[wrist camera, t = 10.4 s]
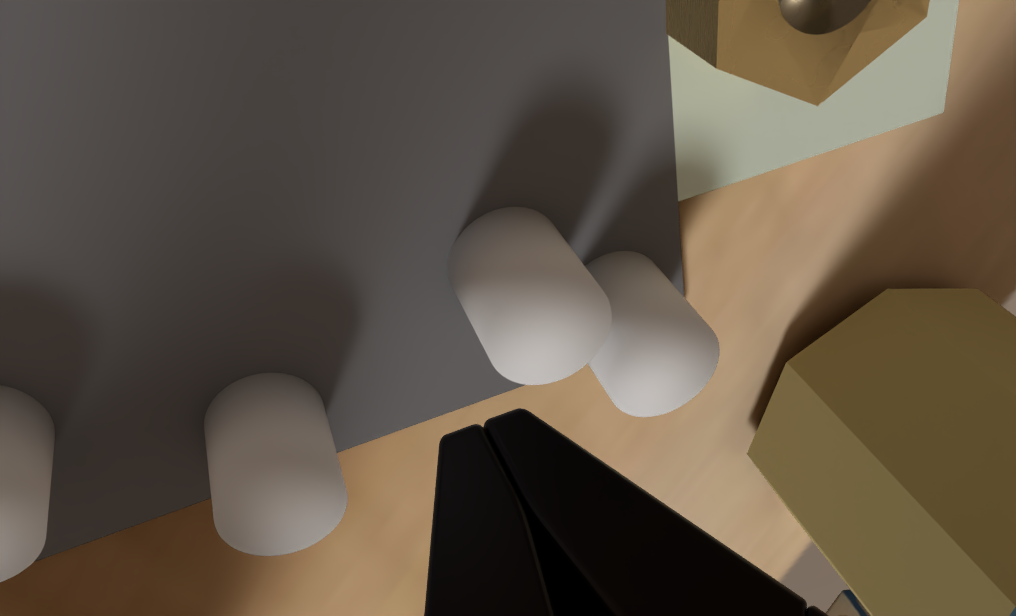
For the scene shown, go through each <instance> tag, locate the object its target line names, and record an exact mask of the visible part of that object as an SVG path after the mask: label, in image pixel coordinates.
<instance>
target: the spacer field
mask: <svg viewBox="0 0 1016 616" xmlns="http://www.w3.org/2000/svg"><path fill="white" fill-rule="evenodd" d="M719 350H720V349H719V342H718V339H717V337H716V335H715V333H714V332H713V330H712V329H711V328H710V327H709V325H708V324H707V323H706V322H705V321H704V320H703V319H702V317H701V316H700V315H699V314H698V313H697V312H696V311H695V309H694V308H693V307H692V306H691V305H690V304H689V303H688V301H687V300H686V299H685V298H684V289H683V273H682V256H681V239H680V223H679V206H678V189H677V173H676V156H675V139H674V123H673V106H672V89H671V73H670V56H669V40H668V35H667V34H666V0H0V582H2V581H5V580H7V579H9V578H11V577H13V576H15V575H17V574H19V573H20V572H22V571H23V570H25V569H26V568H27V567H28V566H30V565H31V564H32V563H33V562H35V561H38V560H40V559H43V558H46V557H49V556H52V555H54V554H57V553H60V552H63V551H65V550H68V549H71V548H74V547H77V546H79V545H82V544H85V543H88V542H90V541H93V540H96V539H99V538H102V537H104V536H107V535H110V534H113V533H115V532H118V531H121V530H124V529H127V528H129V527H132V526H135V525H138V524H140V523H143V522H146V521H149V520H152V519H154V518H157V517H160V516H163V515H165V514H168V513H171V512H174V511H177V510H179V509H182V508H185V507H188V506H190V505H193V504H196V503H199V502H202V501H204V500H207V499H210V498H211V499H212V508H213V518H214V524H215V528H216V530H217V533H218V534H219V536H220V537H221V538H222V539H223V540H224V541H225V542H226V543H227V544H228V545H230V546H231V547H233V548H234V549H236V550H239V551H241V552H244V553H247V554H252V555H258V556H278V555H284V554H289V553H293V552H296V551H300V550H302V549H305V548H307V547H309V546H311V545H313V544H315V543H317V542H318V541H320V540H322V539H323V538H324V537H326V536H327V535H328V534H329V533H330V532H331V531H332V530H333V529H334V528H335V527H336V526H337V525H338V523H339V522H340V521H341V519H342V517H343V515H344V513H345V511H346V507H347V500H348V496H347V490H346V486H345V483H344V479H343V475H342V471H341V468H340V464H339V460H338V456H337V453H338V452H341V451H343V450H346V449H349V448H352V447H354V446H357V445H360V444H363V443H366V442H368V441H371V440H374V439H377V438H379V437H382V436H385V435H388V434H391V433H393V432H396V431H399V430H402V429H404V428H407V427H410V426H413V425H416V424H418V423H421V422H424V421H427V420H429V419H432V418H435V417H438V416H441V415H443V414H446V413H449V412H452V411H454V410H457V409H460V408H463V407H466V406H468V405H471V404H474V403H477V402H479V401H482V400H485V399H488V398H491V397H493V396H496V395H499V394H502V393H504V392H507V391H510V390H513V389H516V388H518V387H521V386H524V385H542V384H548V383H552V382H555V381H559V380H561V379H564V378H566V377H568V376H570V375H572V374H574V373H575V372H577V371H578V370H580V369H581V368H582V367H584V366H585V365H586V364H587V363H588V365H589V366H590V368H591V369H592V371H593V372H594V374H595V375H596V377H597V378H598V380H599V381H600V383H601V385H602V386H603V388H604V389H605V391H606V392H607V394H608V395H609V397H610V398H611V400H612V401H613V403H614V404H615V406H616V407H617V408H618V409H620V410H621V411H623V412H624V413H627V414H629V415H632V416H637V417H652V416H658V415H662V414H665V413H668V412H670V411H673V410H675V409H677V408H679V407H681V406H682V405H684V404H685V403H687V402H688V401H690V400H691V399H692V398H694V397H695V396H696V395H697V394H698V393H699V392H700V391H701V390H702V389H703V388H704V387H705V385H706V384H707V383H708V381H709V380H710V378H711V377H712V375H713V373H714V371H715V369H716V366H717V363H718V359H719Z"/></svg>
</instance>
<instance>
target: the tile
mask: <svg viewBox="0 0 1016 616" xmlns="http://www.w3.org/2000/svg"><path fill="white" fill-rule="evenodd" d="M958 4H959V0H930V2H929V8H928V14H927V17H926V18H925V19H924V20H922V21H921V22H920V23H919V24H918V25H916V26H915V27H914V28H913V29H911V30H910V31H909V32H908V33H907V34H905V35H904V36H903V37H902V38H900V39H899V40H898V41H897V42H896V43H894V44H893V45H892V46H891V47H889V48H888V49H887V50H886V51H885V52H883V53H882V54H881V55H880V56H878V57H877V58H876V59H875V60H874V61H872V62H871V63H870V64H869V65H867V66H866V67H865V68H864V69H863V70H861V71H860V72H859V73H858V74H856V75H855V76H854V77H853V78H852V79H850V80H849V81H848V82H847V83H845V84H844V85H843V86H842V87H841V88H839V89H838V90H837V91H836V92H834V93H833V94H832V95H831V96H830V97H828V98H827V99H826V100H825V101H823V102H822V103H821V104H820V105H819V106H816V105H813V104H810V103H808V102H805V101H802V100H799V99H797V98H794V97H791V96H789V95H786V94H783V93H781V92H778V91H775V90H772V89H770V88H767V87H764V86H762V85H759V84H756V83H754V82H751V81H748V80H745V79H743V78H740V77H737V76H735V75H732V74H729V73H727V72H724V71H721V70H718V69H716V68H714V67H713V66H712V65H710V64H709V63H707V62H706V61H704V60H703V59H702V58H700V57H699V56H697V55H696V54H694V53H693V52H692V51H690V50H689V49H687V48H686V47H684V46H683V45H682V44H680V43H679V42H677V41H676V40H674V39H673V38H672V37H670V36H669V35H668V40H669V56H670V73H671V89H672V106H673V123H674V139H675V156H676V173H677V189H678V202H679V201H682V200H685V199H688V198H691V197H694V196H697V195H700V194H703V193H706V192H709V191H712V190H715V189H718V188H721V187H724V186H727V185H730V184H732V183H735V182H738V181H741V180H744V179H747V178H750V177H753V176H756V175H759V174H762V173H765V172H768V171H771V170H774V169H777V168H780V167H783V166H786V165H789V164H792V163H795V162H798V161H801V160H804V159H807V158H810V157H813V156H816V155H819V154H822V153H825V152H828V151H831V150H834V149H837V148H840V147H843V146H846V145H849V144H852V143H855V142H858V141H861V140H864V139H867V138H870V137H873V136H876V135H878V134H881V133H884V132H887V131H890V130H893V129H896V128H899V127H902V126H905V125H908V124H911V123H914V122H917V121H920V120H923V119H926V118H929V117H932V116H935V115H938V114H941V113H944V106H945V99H946V92H947V84H948V77H949V70H950V63H951V55H952V48H953V41H954V33H955V26H956V19H957V11H958Z"/></svg>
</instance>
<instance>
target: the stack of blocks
mask: <svg viewBox="0 0 1016 616" xmlns="http://www.w3.org/2000/svg"><path fill="white" fill-rule="evenodd" d="M826 614H827V615H829V616H871V615H870V614H869V613H868V611H867V610H866V609H865V608H864V606H863V605H862V604H861V602H860V601H859V600H858V599H857V597H856V596H855V595H854V593H853V592H852V591H851V590H843V591H842V592H841V593H840V594H839V596H838V597H837V598H836V600H835V601H834V603H833V604H832V605H831V607H830V608H829V609H828V611H827V612H826Z"/></svg>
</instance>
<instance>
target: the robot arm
mask: <svg viewBox="0 0 1016 616" xmlns="http://www.w3.org/2000/svg"><path fill="white" fill-rule="evenodd" d="M424 616H829V615H827V614H826V613H824V612H823V611H821V610H820V609H818V608H817V607H815V606H810V607H808V608H807V603H806V601H805V600H804V599H803V598H802V597H800V596H799V595H797V594H796V593H794V592H793V591H791V590H790V589H788V588H787V587H786V586H784V585H783V584H781V583H780V582H778V581H777V580H775V579H774V578H772V577H771V576H769V575H768V574H766V573H765V572H764V571H762V570H761V569H759V568H758V567H756V566H755V565H753V564H752V563H750V562H749V561H747V560H746V559H745V558H743V557H742V556H740V555H739V554H737V553H736V552H734V551H733V550H731V549H730V548H728V547H727V546H725V545H724V544H723V543H721V542H720V541H718V540H717V539H715V538H714V537H712V536H711V535H709V534H708V533H706V532H705V531H704V530H702V529H701V528H699V527H698V526H696V525H695V524H693V523H692V522H690V521H689V520H687V519H686V518H684V517H683V516H682V515H680V514H679V513H677V512H676V511H674V510H673V509H671V508H670V507H668V506H667V505H665V504H664V503H662V502H661V501H660V500H658V499H657V498H655V497H654V496H652V495H651V494H649V493H648V492H646V491H645V490H643V489H642V488H641V487H639V486H638V485H636V484H635V483H633V482H632V481H630V480H629V479H627V478H626V477H624V476H623V475H621V474H620V473H619V472H617V471H616V470H614V469H613V468H611V467H610V466H608V465H607V464H605V463H604V462H602V461H601V460H599V459H598V458H597V457H595V456H594V455H592V454H591V453H589V452H588V451H586V450H585V449H583V448H582V447H580V446H579V445H578V444H576V443H575V442H573V441H572V440H570V439H569V438H567V437H566V436H564V435H563V434H561V433H560V432H558V431H557V430H556V429H554V428H553V427H551V426H550V425H548V424H547V423H545V422H544V421H542V420H541V419H539V418H538V417H536V416H535V415H534V414H532V413H531V412H529V411H527V410H525V409H521V408H519V409H515V410H512V411H510V412H507V413H504V414H501V415H499V416H496V417H493V418H490V419H488V420H487V421H486V422H485V424H484V428H483V427H482V426H481V425H478V424H474V425H471V426H468V427H466V428H463V429H460V430H457V431H455V432H452V433H449V434H446V435H444V436H443V437H442V438H441V441H440V444H439V454H438V465H437V477H436V488H435V500H434V511H433V522H432V534H431V545H430V557H429V568H428V580H427V591H426V603H425V614H424Z"/></svg>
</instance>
